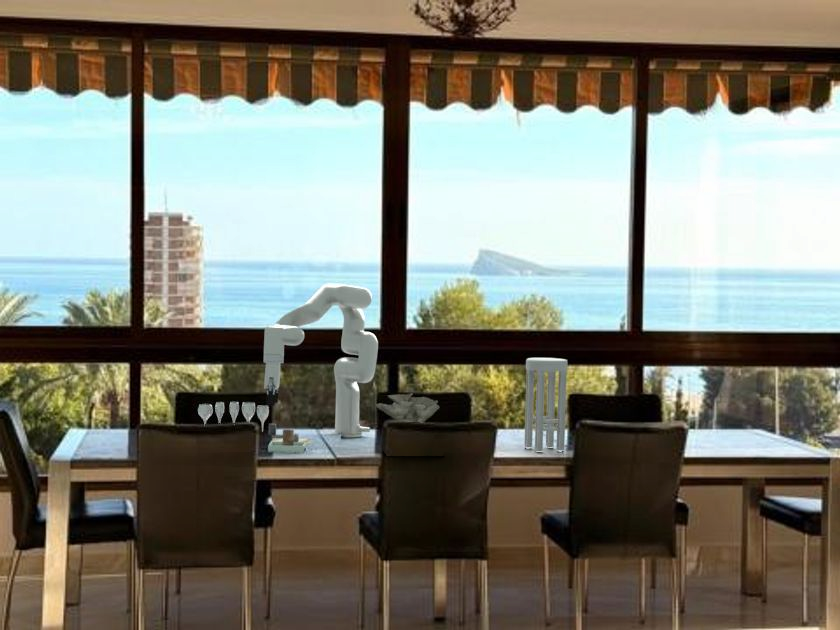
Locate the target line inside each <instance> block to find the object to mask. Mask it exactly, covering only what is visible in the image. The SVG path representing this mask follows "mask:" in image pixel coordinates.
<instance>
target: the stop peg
mask: <svg viewBox="0 0 840 630" xmlns="http://www.w3.org/2000/svg"><path fill="white" fill-rule="evenodd" d="M294 433H295V431H294V429H287V428H286V429H282V435H283V445H286V446H294V445H293V444H294Z"/></svg>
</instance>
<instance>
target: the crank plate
mask: <svg viewBox="0 0 840 630" xmlns="http://www.w3.org/2000/svg"><path fill="white" fill-rule="evenodd" d="M271 441H276V442H283V438H272V440H271ZM271 441H270V442H269V444H270V443H271ZM312 441H313V438H299V442H306V446H309V445H310V444H311V442H312ZM269 444H268V445H269Z"/></svg>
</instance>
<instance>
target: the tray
mask: <svg viewBox="0 0 840 630" xmlns="http://www.w3.org/2000/svg"><path fill="white" fill-rule="evenodd" d="M270 442H271V443H270ZM270 442H269V443H270V444H268V447H267V453H284V452H293V453H292V454H296V453H297V452H298V453H297V454H304V453H305V452H306V450H307V449H306V446H307V445H306V442H294V444H293V446H286V445H283V442H276V441H272V440H270ZM294 452H296V453H294Z"/></svg>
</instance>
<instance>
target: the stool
mask: <svg viewBox="0 0 840 630" xmlns="http://www.w3.org/2000/svg"><path fill="white" fill-rule="evenodd" d="M525 370H526V379H525V380H526V381H525V385H526V387H525V413H524V414H525V415H524V420H525V421H524V446H525V447H532V448H533V434H534V433H533V431H534V429H535V431H534V432H535V434H534V452H535V451H544V449H543V448H544V447H543V446H544V432H545V447H546V446H547V447H553V448H554V444H555V441H554V440H555V439H554V437H555V432H556V447H555V448H556V449H557V450H564V451H565V441H566V438H565V436H566V434H565V433H566V412H567V411H566V408H567V407H566V405H567V403H566V401H567V374H568V372H567V371H568V359H565V358H556V357H528V358H526V360H525ZM535 371H536V390H535ZM546 372H547V391H546V392H547V394H546V395H547V396H546V398H547V399H546V416H545V415H544V413H545V412H544V411H545V384H546V382H545V381H546ZM557 372H558V388H557V416H556V417H557V418H556V419H555V409H556V408H555V407H556V382H557V381H556V379H557V378H556V377H557V376H556V375H557ZM535 391H536V393H535ZM534 394H536V396H534ZM534 397H536V398H535V399H536V400H535V416H534ZM534 421H535V424H534ZM555 424H556V427H555Z"/></svg>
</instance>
